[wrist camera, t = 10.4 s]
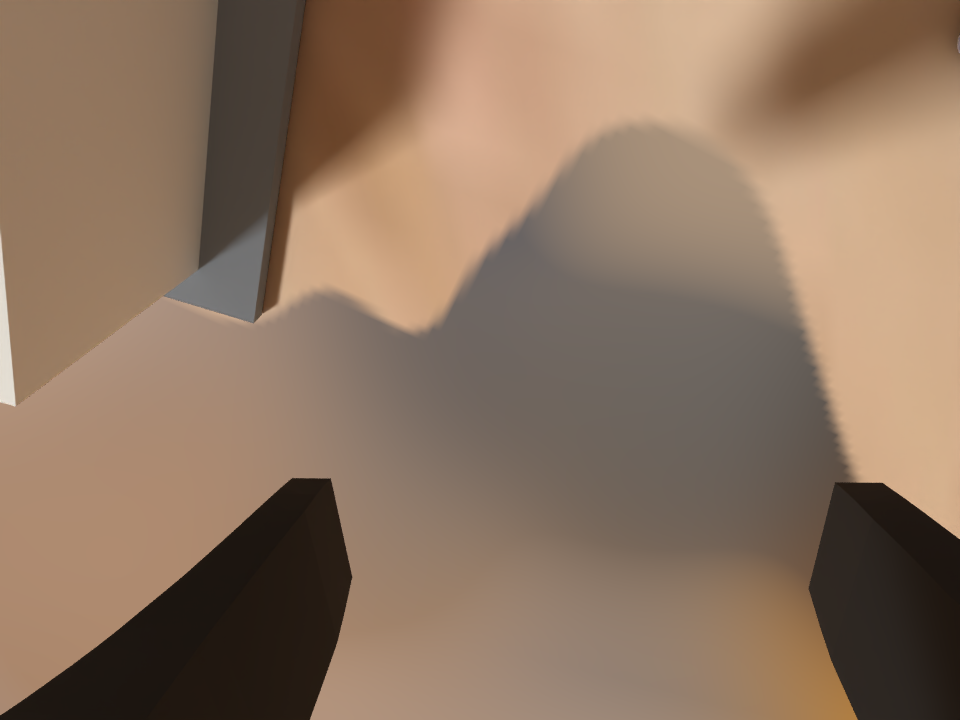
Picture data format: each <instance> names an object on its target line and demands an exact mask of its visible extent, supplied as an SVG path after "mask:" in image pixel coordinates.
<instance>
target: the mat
mask: <svg viewBox="0 0 960 720" xmlns="http://www.w3.org/2000/svg"><path fill="white" fill-rule="evenodd" d="M305 2H306V0H218V11H217V25H216V38H215V52H214V65H213V79H212V92H211V106H210V119H209V133H208V146H207V160H206V173H205V187H204V200H203V214H202V227H201V241H200V255H199V268H198V270H197V271H196V272H195V273H193V274H192V275H191V276H189V277H188V278H187V279H185V280H184V281H183V282H181V283H180V284H179V285H177V286H176V287H175V288H173V289H172V290H171V291H169V292H168V293H167V294H165V295H164V296H165V297H168V298H171V299H175V300H178V301H181V302H185V303H188V304H191V305H195V306H198V307H201V308H205V309H208V310H211V311H214V312H218V313H221V314H224V315H228V316H231V317H234V318H238V319H241V320H244V321H248V322H251V323H254V322H255V321H256V320H257V319H258V318H259V317H260V316H261V315H262V309H263V302H264V295H265V288H266V280H267V273H268V266H269V259H270V252H271V245H272V238H273V230H274V223H275V216H276V209H277V202H278V195H279V188H280V180H281V173H282V166H283V159H284V152H285V145H286V138H287V130H288V123H289V116H290V109H291V102H292V95H293V88H294V80H295V73H296V66H297V59H298V52H299V45H300V37H301V30H302V23H303V16H304V9H305Z"/></svg>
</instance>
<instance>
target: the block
mask: <svg viewBox="0 0 960 720" xmlns="http://www.w3.org/2000/svg"><path fill="white" fill-rule="evenodd" d="M217 11H218V0H0V402H2V403H6V404H9V405H12V406H17V405H18V404H20V403H21V402H22V401H24V400H25V399H26V398H28V397H29V396H30V395H32V394H33V393H34V392H36V391H37V390H38V389H40V388H41V387H42V386H44V385H45V384H46V383H48V382H49V381H50V380H52V379H53V378H54V377H56V376H57V375H59V374H60V373H61V372H62V371H64V370H65V369H66V368H68V367H69V366H70V365H72V364H73V363H75V362H76V361H77V360H79V359H80V358H81V357H83V356H84V355H85V354H86V353H88V352H89V351H90V350H92V349H93V348H95V347H96V346H97V345H98V344H100V343H101V342H102V341H104V340H105V339H106V338H108V337H109V336H111V335H112V334H113V333H115V332H116V331H117V330H119V329H120V328H121V327H123V326H124V325H125V324H127V323H128V322H129V321H131V320H132V319H133V318H134V317H136V316H137V315H138V314H140V313H141V312H143V311H144V310H145V309H147V308H148V307H149V306H151V305H152V304H153V303H155V302H156V301H157V300H159V299H160V298H161V297H163V296H164V295H165V294H167V293H168V292H169V291H171V290H172V289H173V288H175V287H176V286H177V285H179V284H180V283H181V282H183V281H184V280H185V279H187V278H188V277H189V276H191V275H192V274H193V273H195V272H196V271H197V270H198V268H199V255H200V241H201V227H202V214H203V200H204V187H205V173H206V160H207V146H208V133H209V119H210V106H211V92H212V79H213V65H214V52H215V38H216V25H217Z"/></svg>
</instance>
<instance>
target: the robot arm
mask: <svg viewBox="0 0 960 720" xmlns="http://www.w3.org/2000/svg"><path fill="white" fill-rule="evenodd" d="M957 49H958V51H959V53H960V34H959V37H958V41H957ZM351 580H352V574H351V570H350V565H349V561H348V556H347V552H346V546H345V543H344V538H343V533H342V528H341V523H340V519H339V515H338V510H337V505H336V501H335V496H334V491H333V487H332V482H331V479H315V478H309V479H306V478H292V479H291V480H290V481H288V482H287V483H286V484H285V485H284V486H283V487H281V488H280V489H279V490H278V491H277V492H276V493H275V494H274V495H273V496H271V497H270V498H269V499H268V500H267V501H266V502H265V503H264V504H263V505H261V506H260V507H259V508H258V509H257V510H256V511H255V512H254V513H253V514H252V515H251V516H250V517H249V518H247V519H246V520H245V521H244V522H243V523H242V524H241V525H240V526H239V527H238V528H236V529H235V530H234V531H233V532H232V533H231V534H230V535H229V536H228V537H227V538H225V539H224V540H223V541H222V542H221V543H220V544H219V545H218V546H217V547H215V548H214V549H213V550H212V551H211V552H210V553H209V554H208V555H206V556H205V557H204V558H203V559H202V560H201V561H200V562H199V563H197V564H196V565H195V566H194V567H193V568H192V569H191V570H190V571H188V572H187V573H186V574H185V575H184V576H183V577H182V578H180V579H179V580H178V581H177V582H176V583H174V584H173V585H172V586H171V587H170V588H168V589H167V590H166V591H165V592H164V593H163V594H161V595H160V596H159V597H157V598H156V599H155V600H154V601H153V602H151V603H150V604H149V605H148V606H147V607H145V608H144V609H143V610H142V611H140V612H139V613H138V614H137V615H136V616H134V617H133V618H132V619H131V620H130V621H128V622H127V623H126V624H125V625H123V626H122V627H121V628H120V629H119V630H117V631H116V632H115V633H114V634H112V635H111V636H110V637H109V638H107V639H106V640H105V641H103V642H102V643H101V644H100V645H98V646H97V647H96V648H94V649H93V650H92V651H90V652H89V653H88V654H86V655H85V656H84V657H82V658H81V659H80V660H78V661H77V662H76V663H74V664H73V665H72V666H70V667H69V668H67V669H66V670H65V671H63V672H62V673H61V674H59V675H58V676H56V677H55V678H54V679H52V680H51V681H49V682H48V683H47V684H45V685H44V686H43V687H41V688H40V689H38V690H37V691H35V692H34V693H33V694H31V695H30V696H28V697H27V698H25V699H24V700H23V701H21V702H20V703H18V704H17V705H15V706H14V707H12V708H11V709H9V710H8V711H7V712H5V713H3V714H2V715H0V720H310V717H311V715H312V712H313V709H314V706H315V703H316V701H317V698H318V695H319V693H320V690H321V687H322V684H323V681H324V679H325V676H326V673H327V670H328V667H329V664H330V662H331V659H332V656H333V653H334V650H335V647H336V644H337V641H338V637H339V633H340V628H341V625H342V621H343V616H344V612H345V607H346V603H347V598H348V594H349V589H350V585H351ZM809 591H810V594H811V598H812V601H813V604H814V608H815V611H816V614H817V618H818V621H819V624H820V628H821V631H822V634H823V637H824V640H825V643H826V646H827V648H828V652H829V655H830V658H831V661H832V663H833V665H834V667H835V670H836V672H837V674H838V677H839V679H840V681H841V683H842V685H843V688H844V690H845V692H846V694H847V696H848V699H849V701H850V703H851V705H852V707H853V710H854V712H855V714H856V717H857V719H858V720H960V539H958V538H957V537H956V536H954V535H953V534H952V533H950V532H949V531H948V530H946V529H945V528H944V527H942V526H941V525H940V524H938V523H937V522H936V521H934V520H933V519H932V518H930V517H929V516H928V515H926V514H925V513H924V512H922V511H921V510H920V509H918V508H917V507H916V506H914V505H913V504H911V503H910V502H909V501H907V500H906V499H905V498H903V497H902V496H900V495H899V494H898V493H896V492H895V491H893V490H892V489H890V488H889V487H887V486H886V485H885V484H883V483H835V485H834V489H833V493H832V497H831V501H830V505H829V509H828V513H827V517H826V521H825V525H824V530H823V533H822V537H821V541H820V545H819V549H818V553H817V558H816V561H815V565H814V569H813V573H812V577H811V581H810V586H809Z"/></svg>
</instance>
